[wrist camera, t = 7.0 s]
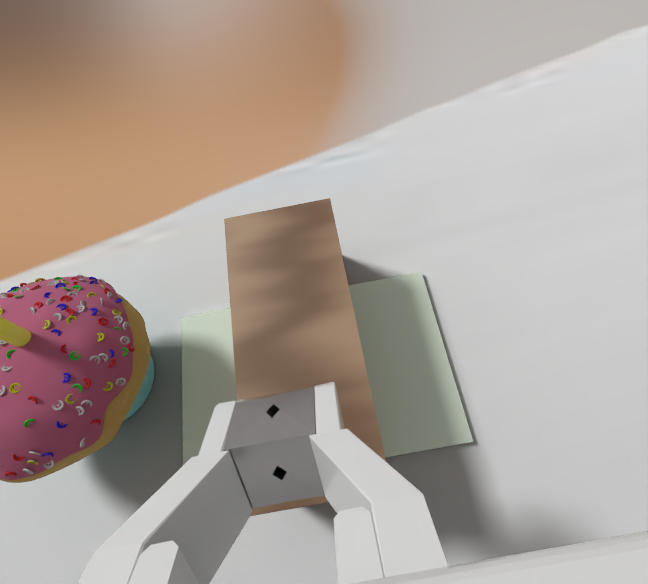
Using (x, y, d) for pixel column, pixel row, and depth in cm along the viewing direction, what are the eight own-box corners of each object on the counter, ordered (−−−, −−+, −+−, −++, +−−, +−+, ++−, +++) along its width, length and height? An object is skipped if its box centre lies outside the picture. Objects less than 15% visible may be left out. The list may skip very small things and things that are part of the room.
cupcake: (133, 282, 21) (-105, 124, 10) (220, 378, 19) (24, 302, 8) (11, 388, 20) (-440, 332, 8) (89, 509, 17) (-421, 663, 6)
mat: (186, 493, 17) (183, 493, 17) (183, 318, 20) (181, 317, 20) (471, 441, 17) (473, 441, 16) (420, 273, 20) (421, 271, 20)
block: (245, 516, 12) (224, 218, 16) (277, 491, 16) (253, 265, 21) (392, 490, 11) (329, 198, 16) (382, 472, 16) (335, 250, 21)
